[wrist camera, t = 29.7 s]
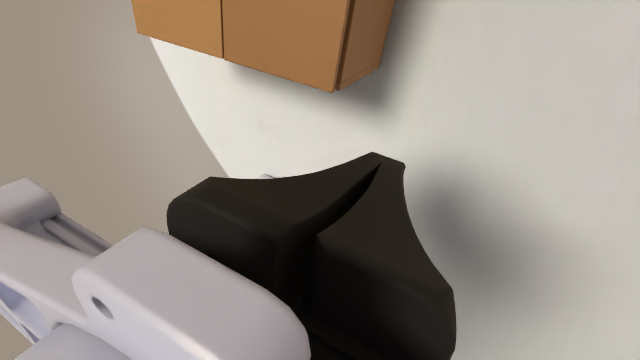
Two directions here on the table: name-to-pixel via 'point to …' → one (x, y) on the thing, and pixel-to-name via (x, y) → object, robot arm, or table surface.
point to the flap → (183, 23)
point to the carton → (307, 38)
